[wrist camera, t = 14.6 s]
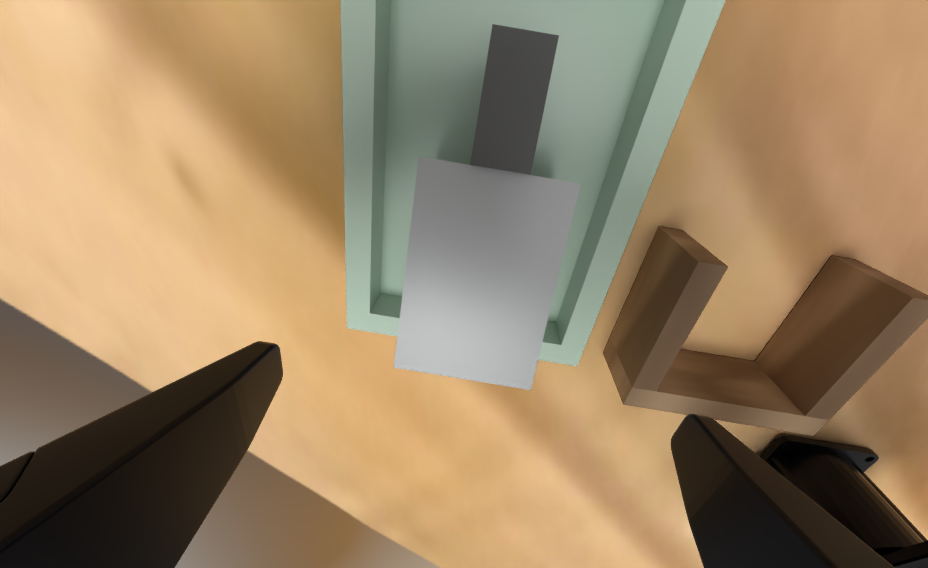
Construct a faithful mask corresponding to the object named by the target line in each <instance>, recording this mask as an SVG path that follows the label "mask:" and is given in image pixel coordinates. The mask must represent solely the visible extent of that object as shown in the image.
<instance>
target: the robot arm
mask: <svg viewBox="0 0 928 568" xmlns="http://www.w3.org/2000/svg"><path fill="white" fill-rule="evenodd" d="M282 377H283V368H282V361H281V354H280V348H279V346H278V345H277V344H274V343H268V342H262V341H258V342H255V343H253V344H251V345H249V346H247V347H245V348H243V349H240V350H238V351H236V352H234V353H232V354H230V355H228V356H226V357H224V358H222V359H220V360H218V361H216V362H214V363H212V364H210V365H208V366H206V367H203V368H201V369H199V370H197V371H195V372H193V373H191V374H189V375H187V376H185V377H183V378H181V379H179V380H177V381H175V382H173V383H171V384H169V385H166V386H164V387H162V388H160V389H158V390H156V391H154V392H152V393H150V394H148V395H146V396H144V397H142V398H140V399H138V400H136V401H134V402H132V403H130V404H128V405H125V406H123V407H121V408H119V409H117V410H115V411H113V412H111V413H109V414H107V415H105V416H103V417H101V418H99V419H97V420H94V421H92V422H91V423H88V424H86V425H84V426H82V427H80V428H78V429H76V430H74V431H72V432H70V433H68V434H66V435H64V436H62V437H60V438H57V439H55V440H53V441H51V442H49V443H47V444H45V445H43V446H41V447H39V448H38V449H37V450H36V451H35V452H34V451H32V452H28V453H26V454H24V455H22V456H20V457H18V458H16V459H14V460H12V461H10V462H8V463H6V464H4V465H2V466H0V568H175V566H176V564H177V563H178V561H179V560H180V558H181V556H182V555H183V553H184V552H185V550H186V548H187V547H188V545H189V544H190V542H191V540H192V539H193V537H194V535H195V534H196V532H197V531H198V529H199V528H200V526H201V524H202V523H203V521H204V519H205V518H206V516H207V515H208V513H209V511H210V510H211V508H212V506H213V505H214V503H215V502H216V500H217V499H218V497H219V495H220V494H221V492H222V491H223V489H224V487H225V486H226V484H227V482H228V481H229V479H230V478H231V476H232V474H233V473H234V471H235V470H236V468H237V466H238V465H239V463H240V461H241V460H242V458H243V456H244V455H245V453H246V451H247V450H248V448H249V446H250V444H251V442H252V440H253V438H254V436H255V434H256V432H257V430H258V428H259V426H260V424H261V422H262V420H263V418H264V416H265V414H266V412H267V410H268V408H269V406H270V404H271V402H272V400H273V397H274V395H275V393H276V391H277V389H278V387H279V385H280V383H281V380H282ZM671 450H672V454H673V459H674V463H675V467H676V471H677V475H678V480H679V484H680V488H681V492H682V497H683V501H684V505H685V509H686V513H687V517H688V520H689V524H690V527H691V530H692V533H693V536H694V539H695V542H696V545H697V548H698V551H699V554H700V557H701V560H702V563H703V566H704V568H928V540H927V539H926V538H925V537H924V536H923V535H922V534H921V533H920V532H919V531H918V530H917V529H916V527H915V526H914V525H913V524H912V523H911V522H910V521H909V520H908V519H907V518H906V517H905V516H904V515H903V514H902V513H901V511H900V510H899V509H898V508H897V507H896V506H895V505H894V504H893V503H892V502H891V501H890V500H889V499H888V498H887V497H886V495H885V494H884V493H883V492H882V491H881V490H880V489H879V488H878V487H877V486H876V485H875V484H874V483H873V482H872V481H871V479H870V478H869V477H868V476H867V475H866V474H865V473H864V471H866V470H867V469H868V468H869V467H870V466H871V465H873V464H874V463H875V462H876V461H877V460H878V459H879V457H878V455H877V454H876V453H875V452H873V451H872V450H871V449H866V448H859V447H853V446H847V445H841V444H835V443H829V442H823V441H817V440H811V439H805V438H799V437H793V436H780V437H778V438H777V439H776V440H775V441H774V442H773V443H772V444H771V445H770V446H769V448H768V449H767V450H766V451H765V452H764V453H763V454H762V455H761V457H759V456H758V455H757V454H755V453H754V452H753V451H752V450H750V449H749V448H748V447H747V446H746V445H744V444H743V443H742V442H741V441H739V440H738V439H737V438H736V437H735V436H733V435H732V434H731V433H730V432H728V431H727V430H726V429H725V428H724V427H722V426H721V425H720V424H719V423H717V422H716V421H715V420H714V419H712V418H711V417H708V416H704V415H698V414H689V415H687V416H686V417H685V418H684V420H683V421H682V423H681V424H680V426H679V427H678V429H677V430H676V432H675V433H674V435H673V436H672V439H671Z"/></svg>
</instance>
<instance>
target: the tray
mask: <svg viewBox="0 0 928 568" xmlns="http://www.w3.org/2000/svg"><path fill="white" fill-rule="evenodd" d="M725 1H726V0H341V46H342V97H343V149H344V200H345V252H346V303H347V328H349V329H355V330H361V331H368V332H374V333H380V334H386V335H392V336H398V328H399V319H400V311H401V303H402V294H403V286H404V277H405V269H406V261H407V252H408V244H409V235H410V227H411V219H412V210H413V202H414V193H415V185H416V177H417V168H418V160H419V156H420V157H426V158H432V159H438V160H444V161H450V162H456V163H462V164H468V165H470V163H471V157H472V151H473V144H474V138H475V132H476V125H477V119H478V113H479V106H480V100H481V94H482V87H483V81H484V75H485V68H486V62H487V56H488V49H489V43H490V37H491V30H492V24H495V25H501V26H507V27H513V28H519V29H525V30H530V31H536V32H542V33H548V34H554V35H559V38H558V43H557V48H556V53H555V58H554V63H553V68H552V73H551V78H550V82H549V87H548V92H547V97H546V102H545V107H544V112H543V117H542V122H541V127H540V131H539V136H538V141H537V146H536V151H535V156H534V161H533V166H532V171H531V175H533V176H539V177H545V178H551V179H557V180H563V181H569V182H575V183H581V185H580V189H579V193H578V197H577V202H576V206H575V210H574V214H573V218H572V222H571V226H570V230H569V234H568V239H567V243H566V247H565V251H564V255H563V259H562V263H561V267H560V271H559V276H558V280H557V284H556V288H555V292H554V296H553V300H552V304H551V308H550V313H549V317H548V321H547V325H546V329H545V333H544V337H543V341H542V345H541V350H540V354H539V358H538V360H542V361H548V362H554V363H560V364H567V365H573V366H578V363H579V361H580V358H581V356H582V353H583V351H584V348H585V346H586V343H587V341H588V338H589V336H590V333H591V331H592V329H593V326H594V324H595V321H596V319H597V316H598V314H599V311H600V309H601V306H602V304H603V301H604V299H605V296H606V294H607V292H608V289H609V287H610V284H611V282H612V279H613V277H614V274H615V272H616V269H617V267H618V264H619V262H620V259H621V257H622V255H623V252H624V250H625V247H626V245H627V242H628V240H629V237H630V235H631V232H632V230H633V227H634V225H635V222H636V220H637V218H638V215H639V213H640V210H641V208H642V205H643V203H644V200H645V198H646V195H647V193H648V190H649V188H650V185H651V183H652V181H653V178H654V176H655V173H656V171H657V168H658V166H659V163H660V161H661V158H662V156H663V153H664V151H665V149H666V146H667V144H668V141H669V139H670V136H671V134H672V131H673V129H674V126H675V124H676V121H677V119H678V116H679V114H680V112H681V109H682V107H683V104H684V102H685V99H686V97H687V94H688V92H689V89H690V87H691V84H692V82H693V79H694V77H695V75H696V72H697V70H698V67H699V65H700V62H701V60H702V57H703V55H704V52H705V50H706V47H707V45H708V42H709V40H710V38H711V35H712V33H713V30H714V28H715V25H716V23H717V20H718V18H719V15H720V13H721V10H722V8H723V5H724V3H725Z"/></svg>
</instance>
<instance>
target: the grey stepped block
mask: <svg viewBox="0 0 928 568" xmlns="http://www.w3.org/2000/svg"><path fill="white" fill-rule="evenodd" d="M558 38H559V35H554V34H548V33H542V32H536V31H530V30H525V29H519V28H513V27H507V26H501V25H495V24H492V30H491V37H490V43H489V49H488V56H487V62H486V68H485V75H484V81H483V87H482V94H481V100H480V106H479V113H478V119H477V125H476V132H475V138H474V144H473V151H472V157H471V163H470V165H468V164H462V163H456V162H450V161H444V160H438V159H432V158H426V157H420V156H419V160H418V168H417V177H416V185H415V193H414V202H413V210H412V219H411V227H410V235H409V244H408V252H407V261H406V269H405V277H404V286H403V294H402V303H401V311H400V319H399V328H398V336H397V345H396V353H395V361H394V368H400V369H406V370H412V371H418V372H424V373H430V374H436V375H442V376H448V377H454V378H460V379H466V380H472V381H478V382H485V383H491V384H497V385H503V386H509V387H515V388H521V389H527V390H531V387H532V382H533V378H534V374H535V370H536V366H537V362H538V358H539V354H540V350H541V345H542V341H543V337H544V333H545V329H546V325H547V321H548V317H549V313H550V308H551V304H552V300H553V296H554V292H555V288H556V284H557V280H558V276H559V271H560V267H561V263H562V259H563V255H564V251H565V247H566V243H567V239H568V234H569V230H570V226H571V222H572V218H573V214H574V210H575V206H576V202H577V197H578V193H579V189H580V185H581V183H575V182H569V181H563V180H557V179H551V178H545V177H539V176H533V175H531V171H532V166H533V161H534V156H535V151H536V146H537V141H538V136H539V131H540V127H541V122H542V117H543V112H544V107H545V102H546V97H547V92H548V87H549V82H550V78H551V73H552V68H553V63H554V58H555V53H556V48H557V43H558Z"/></svg>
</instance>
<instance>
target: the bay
mask: <svg viewBox="0 0 928 568" xmlns="http://www.w3.org/2000/svg"><path fill="white" fill-rule="evenodd" d="M727 268H728V266H727V265H725V264H724V263H723V262H722V261H720V260H719V259H718V258H717V257H715V256H714V255H713V254H712V253H710V252H709V251H708V250H707V249H705V248H704V247H703V246H702V245H700V244H699V243H698V242H697V241H695V240H694V239H693V238H692V237H691V236H689V235H688V234H687V233H686V232H684V231H683V230H678V229H672V228H666V227H660V226H659V227H658V230H657V232H656V234H655V236H654V239H653V241H652V243H651V246H650V248H649V250H648V252H647V255H646V257H645V259H644V261H643V264H642V266H641V268H640V270H639V273H638V275H637V277H636V279H635V282H634V284H633V286H632V289H631V291H630V293H629V295H628V298H627V300H626V302H625V304H624V307H623V309H622V311H621V313H620V316H619V318H618V320H617V322H616V325H615V327H614V329H613V331H612V334H611V336H610V338H609V341H608V343H607V345H606V347H605V350H604V352H603V354H604V357H605V359H606V362H607V364H608V367H609V369H610V372H611V374H612V377H613V380H614V382H615V385H616V387H617V390H618V392H619V395H620V397H621V400H622V402H623V404H624V405H630V406H636V407H642V408H648V409H654V410H660V411H666V412H673V413H679V414H685V415H689V414H698V415H704V416H708V417H711V418H712V419H715V420H721V421H727V422H733V423H739V424H745V425H751V426H757V427H763V428H769V429H775V430H781V431H787V432H793V433H800V434H806V435H812V436H814V435H815V434H816V433H817V432H818V431H819V430H820V429H821V428H822V427H823V426H824V425H825V424H826V423H827V422H828V421H829V420H830V419H831V417H832V416H833V415H834V414H835V413H836V412H837V411H838V410H839V409H840V408H841V407H842V406H843V405H844V404H845V403H846V402H847V401H848V400H849V399H850V398H851V397H852V396H853V395H854V394H855V393H856V392H857V391H858V390H859V389H860V388H861V387H862V385H863V384H864V383H865V382H866V381H867V380H868V379H869V378H870V377H871V376H872V375H873V374H874V373H875V372H876V371H877V370H878V369H879V368H880V367H881V366H882V365H883V364H884V363H885V362H886V361H887V360H888V359H889V358H890V357H891V356H892V354H893V353H894V352H895V351H896V350H897V349H898V348H899V347H900V346H901V345H902V344H903V343H904V342H905V341H906V340H907V339H908V338H909V337H910V336H911V335H912V334H913V333H914V332H915V331H916V330H917V329H918V328H919V327H920V326H921V325H922V323H923V322H924V321H925V320H926V319H927V318H928V295H926V294H924V293H922V292H920V291H918V290H916V289H914V288H912V287H910V286H908V285H906V284H904V283H902V282H900V281H898V280H896V279H894V278H892V277H890V276H888V275H886V274H884V273H882V272H880V271H878V270H876V269H874V268H872V267H870V266H868V265H866V264H864V263H862V262H860V261H858V260H856V259H850V258H844V257H838V256H831V257H830V259H829V260H828V262H827V263H826V264H825V266H824V267H823V268H822V270H821V271H820V273H819V274H818V275H817V277H816V278H815V279H814V281H813V282H812V284H811V285H810V286H809V288H808V289H807V290H806V292H805V293H804V295H803V296H802V297H801V299H800V300H799V301H798V303H797V304H796V306H795V307H794V308H793V310H792V311H791V312H790V314H789V315H788V317H787V318H786V319H785V321H784V322H783V323H782V325H781V326H780V328H779V329H778V330H777V332H776V333H775V334H774V336H773V337H772V339H771V340H770V341H769V343H768V344H767V345H766V347H765V348H764V350H763V351H762V352H761V354H760V355H759V356H758V358H757V359H756V360H755V361H749V360H743V359H737V358H731V357H725V356H719V355H713V354H707V353H701V352H695V351H689V350H683V349H681V347H682V346H683V344H684V342H685V341H686V339H687V337H688V335H689V334H690V332H691V330H692V328H693V327H694V325H695V323H696V322H697V320H698V318H699V316H700V315H701V313H702V311H703V309H704V308H705V306H706V304H707V303H708V301H709V299H710V297H711V296H712V294H713V292H714V290H715V289H716V287H717V285H718V283H719V282H720V280H721V278H722V277H723V275H724V273H725V271H726V270H727Z"/></svg>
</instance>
